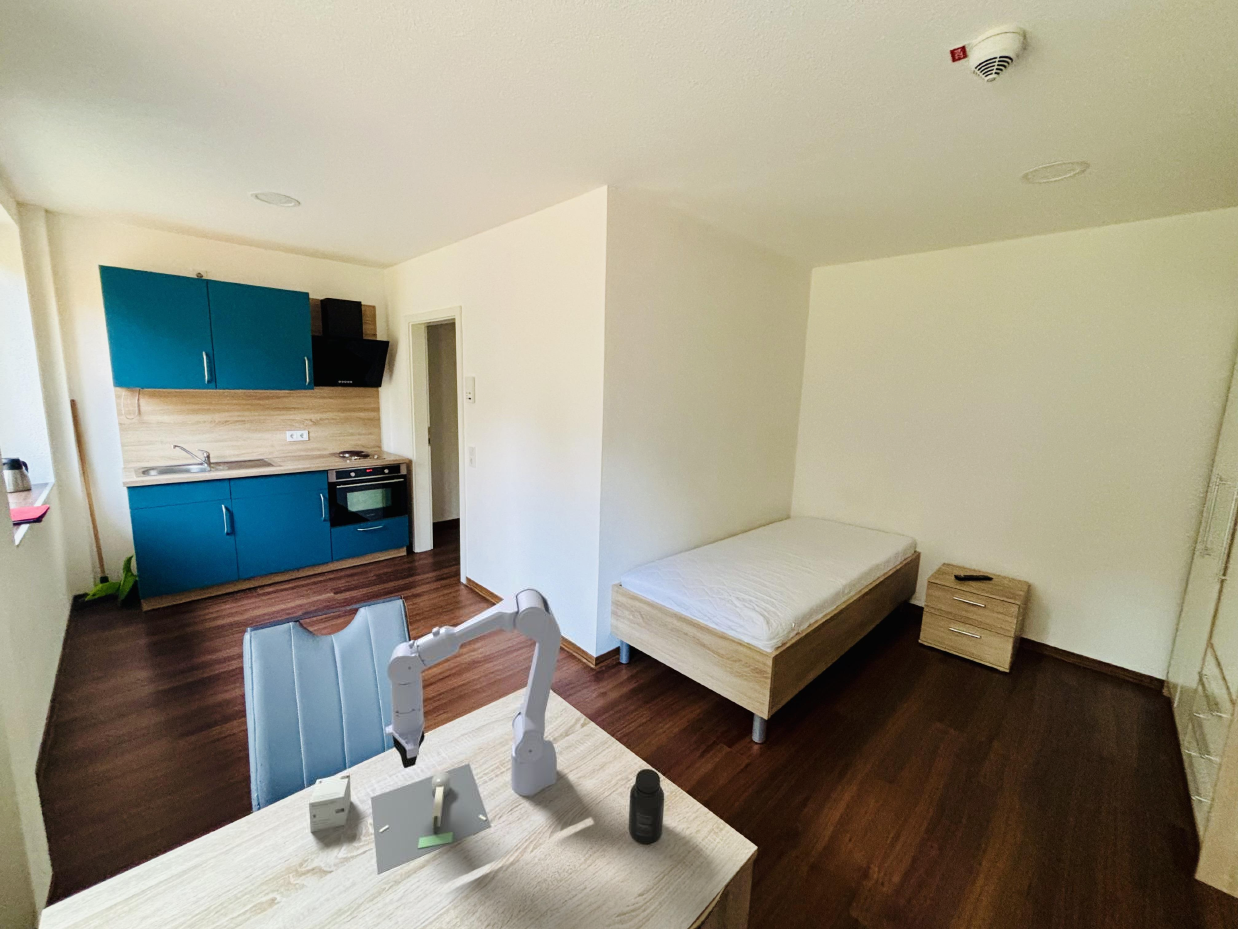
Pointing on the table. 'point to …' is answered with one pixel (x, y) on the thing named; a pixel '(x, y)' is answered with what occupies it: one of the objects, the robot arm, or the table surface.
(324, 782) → the skincare box
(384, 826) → the tuner board
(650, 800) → the supplement bottle
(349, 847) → the table surface
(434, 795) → the peg lever
